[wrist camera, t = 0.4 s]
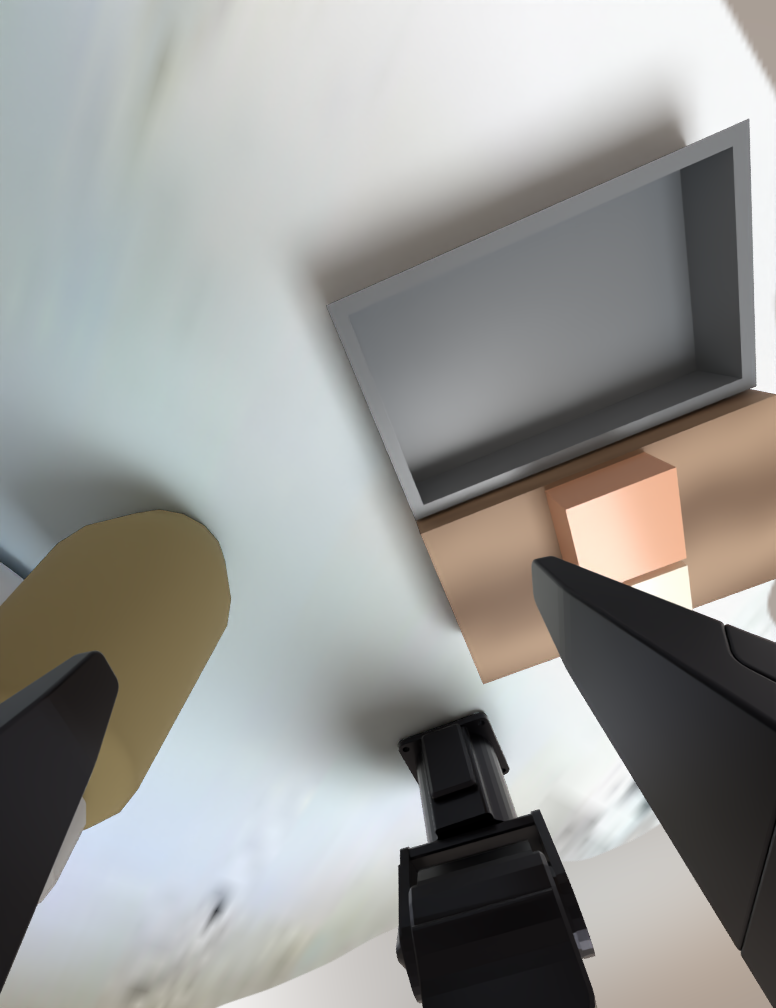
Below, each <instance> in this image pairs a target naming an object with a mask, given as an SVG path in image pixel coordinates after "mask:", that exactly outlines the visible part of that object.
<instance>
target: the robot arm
mask: <svg viewBox="0 0 776 1008" xmlns="http://www.w3.org/2000/svg"><path fill="white" fill-rule="evenodd" d="M531 569H532V584H533V595H534V600H535V603H536V605H537V607H538V610H539V612H540V614H541V616H542V618H543V620H544V623H545V625H546V627H547V629H548V631H549V633H550V635H551V638H552V640H553V642H554V644H555V646H556V648H557V651H558V653H559V655H560V657H561V659H562V661H563V663H564V665H565V667H566V669H567V671H568V673H569V674H570V676H571V678H572V679H573V681H574V683H575V684H576V686H577V688H578V689H579V691H580V692H581V694H582V696H583V697H584V699H585V701H586V702H587V704H588V706H589V707H590V709H591V710H592V712H593V714H594V715H595V717H596V719H597V720H598V722H599V724H600V725H601V727H602V728H603V730H604V732H605V733H606V735H607V737H608V738H609V740H610V741H611V743H612V745H613V746H614V748H615V750H616V751H617V753H618V755H619V756H620V758H621V759H622V761H623V763H624V764H625V766H626V768H627V769H628V771H629V773H630V774H631V776H632V777H633V779H634V781H635V782H636V784H637V786H638V787H639V789H640V790H641V792H642V794H643V795H644V797H645V799H646V800H647V802H648V804H649V805H650V807H651V808H652V810H653V812H654V813H655V815H656V817H657V818H658V820H659V822H660V823H661V825H662V826H663V828H664V830H665V831H666V833H667V834H668V836H669V838H670V839H671V841H672V843H673V844H674V846H675V848H676V849H677V851H678V853H679V854H680V856H681V857H682V859H683V861H684V862H685V864H686V866H687V867H688V869H689V871H690V872H691V874H692V875H693V877H694V878H695V880H696V882H697V883H698V885H699V887H700V888H701V890H702V892H703V893H704V895H705V897H706V898H707V900H708V902H709V903H710V905H711V906H712V908H713V910H714V911H715V913H716V915H717V916H718V918H719V920H720V921H721V923H722V924H723V926H724V928H725V929H726V931H727V933H728V934H729V936H730V937H731V939H732V941H733V942H734V944H735V946H736V947H737V949H738V950H740V951H741V956H742V958H743V959H744V961H745V962H746V964H747V966H748V967H749V969H750V971H751V972H752V974H753V976H754V977H755V979H756V981H757V982H758V984H759V985H760V987H761V989H762V990H763V992H764V993H765V995H766V997H767V998H768V1000H769V1002H770V1003H771V1005H772V1006H773V1008H776V642H773V641H770V640H768V639H765V638H762V637H760V636H757V635H754V634H752V633H749V632H747V631H744V630H741V629H739V628H736V627H734V626H731V625H729V624H726V625H725V626H724V624H723V623H722V622H721V621H718V620H716V619H713V618H711V617H708V616H705V615H703V614H700V613H698V612H695V611H693V610H690V609H687V608H685V607H682V606H680V605H677V604H675V603H672V602H670V601H667V600H664V599H662V598H659V597H657V596H654V595H652V594H649V593H647V592H644V591H641V590H639V589H636V588H634V587H631V586H629V585H626V584H624V583H621V582H618V581H616V580H613V579H611V578H608V577H606V576H603V575H601V574H598V573H595V572H593V571H590V570H588V569H585V568H583V567H580V566H577V565H575V564H572V563H570V562H567V561H565V560H562V559H560V558H557V557H554V556H547V557H542V558H537V559H534V560H533V561H532V565H531ZM118 690H119V683H118V679H117V677H116V675H115V674H114V672H113V670H112V668H111V667H110V665H109V663H108V662H107V660H106V658H105V656H104V655H103V654H102V653H101V652H100V651H96V650H94V651H89V652H84V653H79V654H76V655H74V656H72V657H71V658H69V659H68V660H66V661H65V662H63V663H62V664H60V665H59V666H57V667H56V668H54V669H53V670H51V671H49V672H48V673H46V674H45V675H43V676H42V677H40V678H39V679H37V680H36V681H34V682H33V683H31V684H30V685H28V686H27V687H25V688H24V689H22V690H20V691H19V692H17V693H16V694H14V695H13V696H11V697H10V698H8V699H7V700H5V701H4V702H2V703H1V704H0V993H1V991H2V988H3V986H4V984H5V981H6V979H7V976H8V974H9V972H10V969H11V967H12V964H13V962H14V960H15V957H16V955H17V952H18V950H19V948H20V945H21V943H22V940H23V938H24V936H25V933H26V931H27V928H28V926H29V924H30V921H31V919H32V916H33V914H34V912H35V909H36V907H37V904H38V902H39V900H40V897H41V895H42V892H43V890H44V888H45V885H46V883H47V880H48V878H49V876H50V873H51V871H52V868H53V866H54V864H55V861H56V859H57V856H58V854H59V852H60V849H61V847H62V844H63V842H64V840H65V837H66V835H67V832H68V830H69V828H70V825H71V823H72V820H73V818H74V816H75V813H76V811H77V808H78V806H79V804H80V801H81V799H82V796H83V794H84V791H85V789H86V787H87V784H88V782H89V779H90V777H91V774H92V772H93V769H94V767H95V764H96V761H97V758H98V755H99V752H100V749H101V745H102V742H103V739H104V736H105V733H106V729H107V726H108V723H109V720H110V717H111V713H112V710H113V707H114V704H115V701H116V697H117V694H118ZM398 747H399V752H400V754H401V756H402V757H403V759H404V761H405V762H406V764H407V766H408V767H409V769H410V771H411V773H412V774H413V776H414V778H415V779H416V781H417V783H418V784H419V788H420V795H421V801H422V808H423V814H424V821H425V827H426V834H427V840H428V843H427V844H423V845H420V846H416V847H413V848H409V847H406V848H403V849H400V865H399V866H398V876H399V927H398V936H397V945H396V953H397V958H398V961H399V963H400V964H401V965H403V967H404V968H405V969H406V970H407V974H408V977H409V980H410V984H411V988H412V991H413V994H414V996H415V998H416V1000H417V1002H419V1003H422V1005H423V1008H597V1005H596V1001H595V996H594V993H593V988H592V986H591V983H590V980H589V977H588V974H587V972H586V969H585V966H584V963H583V960H582V959H583V958H584V959H585V958H590V957H593V956H595V952H594V949H593V945H592V942H591V939H590V936H589V933H588V930H587V927H586V925H585V922H584V919H583V916H582V913H581V911H580V908H579V905H578V903H577V900H576V897H575V894H574V892H573V889H572V887H571V884H570V882H569V879H568V877H567V874H566V872H565V869H564V867H563V865H562V862H561V860H560V857H559V855H558V853H557V850H556V848H555V845H554V843H553V841H552V838H551V836H550V833H549V831H548V829H547V826H546V824H545V821H544V819H543V817H542V814H541V812H540V810H539V809H538V810H535V811H531V814H528V815H524V816H521V817H517V814H516V812H515V809H514V806H513V803H512V800H511V797H510V794H509V791H508V788H507V785H506V782H505V779H504V776H503V775H505V774H507V773H508V772H509V767H508V764H507V762H506V759H505V757H504V755H503V752H502V750H501V748H500V745H499V743H498V741H497V738H496V736H495V734H494V731H493V729H492V727H491V724H490V722H489V720H488V718H487V715H486V714H485V713H477V714H474V715H471V716H469V717H466V718H463V719H460V720H457V721H454V722H452V723H449V724H446V725H443V726H440V727H438V728H435V729H432V730H429V731H426V732H424V733H421V734H418V735H415V736H412V737H410V738H407V739H404V740H402V741H400V742H399V744H398Z"/></svg>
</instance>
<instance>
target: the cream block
mask: <svg viewBox="0 0 776 1008" xmlns="http://www.w3.org/2000/svg"><path fill="white" fill-rule="evenodd" d="M621 583H624V584H626V585H629V586H631V587H634V588H636V589H639V590H641V591H644V592H647V593H649V594H652V595H654V596H657V597H659V598H662V599H664V600H667V601H670V602H672V603H675V604H677V605H680V606H682V607H685V608H687V609H690V610H693V609H692V600H691V591H690V583H689V574H688V565H686V564H685V563H684V562H682V561H681V560H680V561H678V562H675V563H672V564H669V565H667V566H664V567H661V568H659V569H656V570H653V571H650V572H648V573H645V574H642V575H640V576H637V577H634V578H632V579H629V580H626V581H623V582H621Z"/></svg>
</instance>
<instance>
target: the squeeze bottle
mask: <svg viewBox="0 0 776 1008" xmlns="http://www.w3.org/2000/svg"><path fill="white" fill-rule="evenodd" d="M230 602H231V596H230V589H229V583H228V577H227V570H226V564H225V559H224V556H223V553H222V550H221V547H220V544H219V542H218V541H217V539H216V538H215V537H214V536H213V535H212V534H211V533H210V532H209V530H208V529H207V528H206V527H205V526H204V525H202V524H201V523H199V522H197V521H195V520H193V519H192V518H190V517H188V516H186V515H184V514H181V513H176V512H170V511H165V510H160V509H158V510H152V511H146V512H139V513H134V514H130V515H126V516H122V517H118V518H114V519H110V520H106V521H102V522H98V523H94V524H90V525H86V526H85V527H83V528H81V529H80V530H78V531H77V532H75V533H73V534H72V535H70V536H69V537H67V538H66V539H64V540H62V541H61V542H59V543H58V544H57V545H56V546H55V547H54V548H53V549H52V550H51V551H50V552H49V553H48V554H47V556H46V557H45V558H44V559H43V560H42V561H41V562H40V563H39V564H38V565H37V566H36V568H35V569H34V570H33V571H32V572H31V573H30V574H29V575H28V576H27V577H26V578H25V580H24V581H23V582H22V583H21V584H20V585H19V586H18V587H17V588H16V589H15V590H14V592H13V593H12V594H11V595H10V596H9V597H8V598H7V599H6V600H5V601H4V602H3V604H2V605H1V606H0V704H1V703H2V702H4V701H5V700H7V699H8V698H10V697H11V696H13V695H14V694H16V693H17V692H19V691H20V690H22V689H24V688H25V687H27V686H28V685H30V684H31V683H33V682H34V681H36V680H37V679H39V678H40V677H42V676H43V675H45V674H46V673H48V672H49V671H51V670H53V669H54V668H56V667H57V666H59V665H60V664H62V663H63V662H65V661H66V660H68V659H69V658H71V657H72V656H74V655H76V654H79V653H84V652H89V651H94V650H96V651H100V652H101V653H102V654H103V655H104V656H105V658H106V660H107V662H108V663H109V665H110V667H111V668H112V670H113V672H114V674H115V675H116V677H117V679H118V683H119V690H118V694H117V697H116V701H115V704H114V707H113V710H112V713H111V717H110V720H109V723H108V726H107V729H106V733H105V736H104V739H103V742H102V745H101V749H100V752H99V755H98V758H97V761H96V764H95V767H94V769H93V772H92V774H91V777H90V779H89V782H88V784H87V787H86V789H85V791H84V794H83V796H82V799H81V801H80V804H79V806H78V808H77V811H76V813H75V816H74V818H73V820H72V823H71V825H70V828H69V830H68V832H67V835H66V837H65V840H64V842H63V844H62V847H61V849H60V852H59V854H58V856H57V859H56V861H55V864H54V866H53V868H52V871H51V873H50V876H49V878H48V880H47V883H46V885H45V888H44V890H43V892H42V895H41V897H40V900H39V902H38V904H39V903H41V902H42V901H43V900H44V898H45V897H46V896H47V894H48V893H49V892H50V891H51V889H52V888H53V887H54V885H55V884H56V882H57V880H58V878H59V876H60V874H61V872H62V870H63V869H64V867H65V865H66V863H67V861H68V859H69V857H70V855H71V853H72V851H73V849H74V847H75V845H76V843H77V841H78V839H79V837H80V835H81V833H82V831H83V830H85V829H88V828H90V827H92V826H94V825H96V824H98V823H100V822H102V821H104V820H106V819H108V818H110V817H111V816H113V815H115V814H117V813H119V812H120V811H121V810H122V809H123V808H124V806H125V805H126V804H127V803H128V801H129V800H130V799H131V797H132V796H133V795H134V794H135V792H136V791H137V790H138V788H139V786H140V784H141V783H142V781H143V779H144V777H145V775H146V773H147V772H148V770H149V768H150V766H151V764H152V762H153V761H154V759H155V757H156V755H157V753H158V751H159V750H160V748H161V746H162V744H163V742H164V740H165V739H166V737H167V735H168V733H169V731H170V729H171V727H172V726H173V724H174V722H175V720H176V718H177V716H178V715H179V713H180V711H181V709H182V707H183V705H184V704H185V702H186V700H187V698H188V696H189V694H190V693H191V691H192V689H193V687H194V685H195V683H196V682H197V680H198V678H199V676H200V674H201V672H202V671H203V669H204V667H205V665H206V663H207V661H208V660H209V658H210V656H211V654H212V652H213V650H214V649H215V647H216V645H217V643H218V641H219V639H220V638H221V636H222V634H223V632H224V630H225V628H226V627H227V622H228V616H229V609H230ZM38 904H37V905H38Z"/></svg>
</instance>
